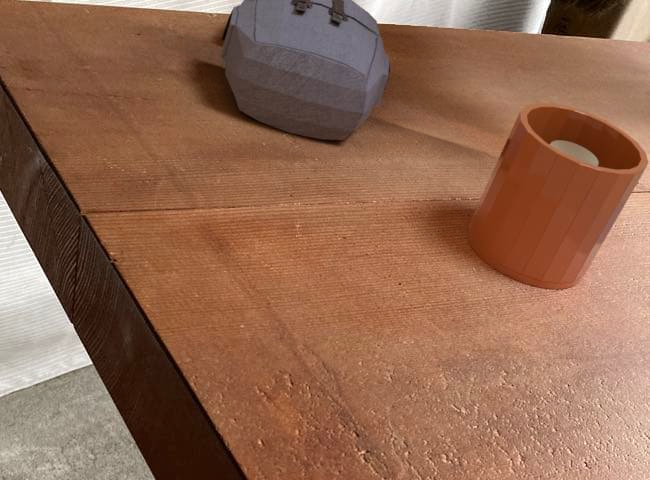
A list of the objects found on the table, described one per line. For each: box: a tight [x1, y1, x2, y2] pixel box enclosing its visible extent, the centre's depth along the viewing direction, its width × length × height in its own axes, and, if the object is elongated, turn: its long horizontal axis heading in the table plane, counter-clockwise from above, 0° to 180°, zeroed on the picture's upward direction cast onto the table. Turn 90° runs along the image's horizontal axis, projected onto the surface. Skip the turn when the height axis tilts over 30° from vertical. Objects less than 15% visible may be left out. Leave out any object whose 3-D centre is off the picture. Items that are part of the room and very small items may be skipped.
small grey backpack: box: [220, 0, 391, 141], centre depth 88 cm, size 15×8×20 cm
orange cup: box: [466, 102, 649, 290], centre depth 77 cm, size 10×10×10 cm
